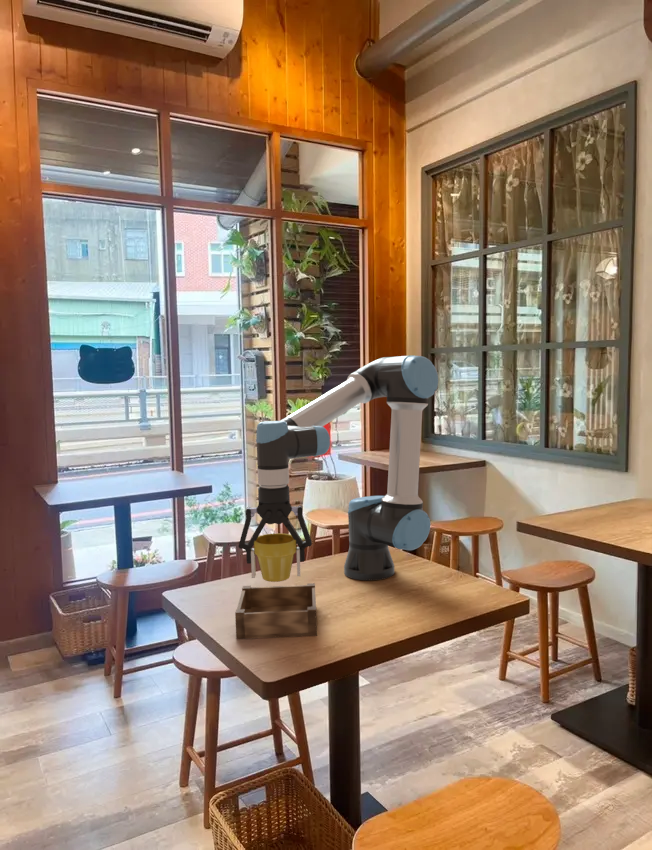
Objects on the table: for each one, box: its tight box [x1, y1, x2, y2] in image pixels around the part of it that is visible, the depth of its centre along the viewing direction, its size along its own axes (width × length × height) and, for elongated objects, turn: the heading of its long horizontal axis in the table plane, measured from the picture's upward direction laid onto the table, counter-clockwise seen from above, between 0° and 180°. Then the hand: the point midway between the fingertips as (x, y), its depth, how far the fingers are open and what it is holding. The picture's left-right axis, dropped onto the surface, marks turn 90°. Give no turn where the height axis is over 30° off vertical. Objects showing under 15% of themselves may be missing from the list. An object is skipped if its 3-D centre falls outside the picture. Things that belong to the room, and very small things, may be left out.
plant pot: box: [253, 533, 298, 583], centre depth 157 cm, size 10×10×10 cm
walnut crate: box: [234, 582, 318, 640], centre depth 158 cm, size 19×19×6 cm
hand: (276, 575), depth 157 cm, fingers closed on plant pot, 10 cm apart
